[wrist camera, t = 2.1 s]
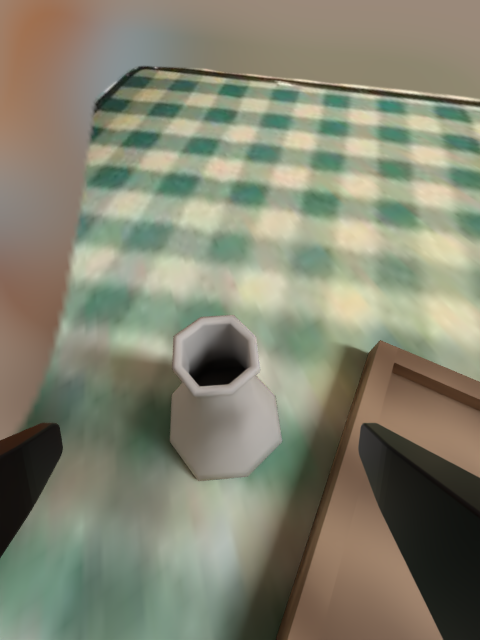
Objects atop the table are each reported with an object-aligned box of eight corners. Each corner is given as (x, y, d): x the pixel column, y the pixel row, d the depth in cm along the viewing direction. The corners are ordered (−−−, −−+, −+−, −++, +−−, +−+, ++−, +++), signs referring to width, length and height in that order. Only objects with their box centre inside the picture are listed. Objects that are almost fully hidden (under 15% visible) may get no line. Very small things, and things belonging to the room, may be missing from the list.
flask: (155, 389, 20) (95, 306, 11) (252, 351, 21) (263, 253, 13) (188, 505, 16) (137, 510, 8) (301, 450, 18) (360, 405, 9)
